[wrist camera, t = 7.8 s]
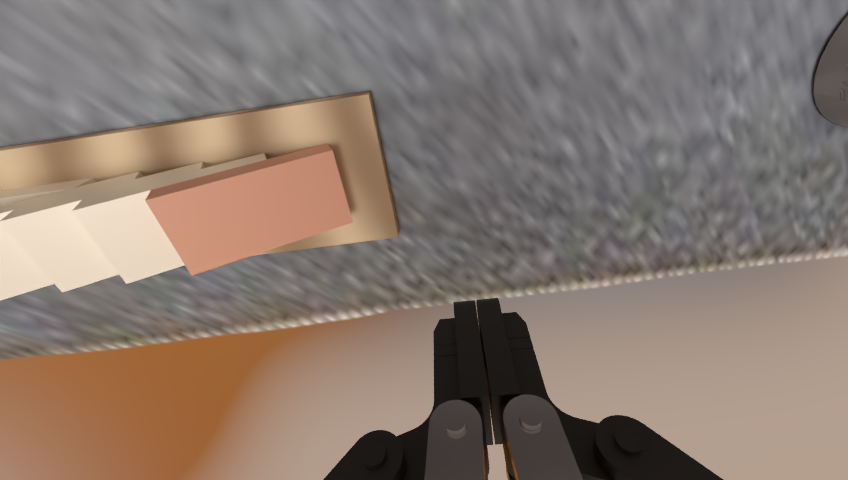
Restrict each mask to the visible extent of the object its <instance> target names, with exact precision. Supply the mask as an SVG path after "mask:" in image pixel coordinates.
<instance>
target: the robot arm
mask: <svg viewBox="0 0 848 480" xmlns="http://www.w3.org/2000/svg"><path fill="white" fill-rule="evenodd" d="M814 97H815V102H816V106H817V107H818V109H819V111H820V113H821V114H822V115H823V116H824V117H825V118H826V119H828V120H829V121H830V122H832V123H835V124H838V125H841V126H844V127H847V128H848V16H847V17H846V18H845V19H844V20H843V21H842V23H841V24H840V26H839V27H838V29H837V30H836V32H835V33H834V35H833V36H832V38H831V39H830V41H829V43H828V45H827V47H826V49H825V51H824V53H823V55H822V57H821V59H820V61H819V65H818V68H817V71H816V74H815V81H814ZM477 312H478V319H477ZM477 312H476V305H475V300H473V301H463V302H454V315H455V318H451V319H440V320H439V322H438V324H437V326H436V328H435V330H434V406H433V410H432V412H431V414H430V416H429V417H428V418H427V420H426V421H425V422H424V423H423V424H422V425H420V426H419V427H417V428H415V429H413V430H411V431H408V432H406V433H404V434H401V435H399V436H397V437H396V436H395V435H394V434H392V433H391V432H388V431H384V430H377V431H372V432H369V433H367V434H366V435H364V436H363V437H361V438H360V439H359V440H358V441H357V442H356V443H355V445H354V446H353V447H352V448H351V449H350V450H349V451H348V452H347V454H346V455H345V456H344V457H343V458H342V459H341V460H340V461H339V463H338V464H337V465H336V466H335V467H334V468H333V469H332V471H331V472H330V473H329V474H328V475H327V476H326V478H324V480H488V474H489V460H488V450H487V445H493V439H492V427H491V418H492V425H493V431H494V438H495V444H503V448H504V454H505V461H506V473H507V478H508V480H723V479H721V478H720V477H719V476H717V475H716V474H714V473H713V472H711V471H710V470H708V469H707V468H706V467H704V466H703V465H701V464H700V463H698V462H697V461H696V460H694V459H693V458H691V457H690V456H689V455H687V454H686V453H684V452H683V451H681V450H680V449H679V448H677V447H675V446H674V445H673V444H671V443H670V442H668V441H667V440H666V439H664V438H663V437H661V436H660V435H658V434H657V433H655V432H654V431H653V430H651V429H650V428H648V427H647V426H646V425H644V424H643V423H641V422H639V421H638V420H635V419H633V418H630V417H627V416H621V415H615V416H609V417H607V418H605V419H603V420H602V421H601V422H600V423H595V422H591V421H587V420H583V419H579V418H575V417H572V416H570V415H568V414H566V413H564V412H562V411H561V410H560V409H558V408H557V407H556V406H555V405H554V404H553V403H552V401H551V400H550V398H549V397H548V395H547V392H546V389H545V386H544V382H543V379H542V376H541V372H540V369H539V365H538V362H537V359H536V355H535V352H534V350H533V345H532V342H531V339H530V335H529V332H528V328H527V325H526V323H525V321H524V320H523V319H522V318H521V317H520V316H519V315H518V314H517V313H516V312H512V313H502V312H501V308H500V304H499V300H498V298H492V299H482V300H477ZM478 322H479V326H478ZM479 332H480V333H479ZM490 411H491V416H490Z"/></svg>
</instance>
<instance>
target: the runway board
mask: <svg viewBox="0 0 848 480" xmlns="http://www.w3.org/2000/svg"><path fill="white" fill-rule="evenodd" d="M324 144H328V145H329V146H330V147H331V149H332V150H333V153H334V157H335V160H336V164H337V167H338V171H339V174H340V178H341V181H342V185H343V188H344V192H345V196H346V199H347V203H348V206H349V210H350V213H351V217H352V220H353V223H350V224H347V225H344V226H341V227H338V228H334V229H331V230H328V231H325V232H322V233H319V234H316V235H313V236H310V237H307V238H304V239H301V240H298V241H295V242H292V243H289V244H286V245H283V246H280V247H277V248H274V249H271V250H268V251H265V252H262V253H258V254H255V255H261V254H269V253H277V252H285V251H293V250H301V249H309V248H316V247H324V246H332V245H340V244H348V243H356V242H364V241H372V240H380V239H388V238H396V237H399V226H398V221H397V216H396V212H395V207H394V202H393V197H392V192H391V188H390V183H389V178H388V173H387V168H386V164H385V159H384V154H383V149H382V144H381V140H380V135H379V130H378V125H377V120H376V116H375V111H374V106H373V101H372V96H371V92H370V91H366V92H360V93H353V94H347V95H340V96H334V97H327V98H321V99H314V100H308V101H301V102H295V103H288V104H282V105H275V106H269V107H262V108H256V109H249V110H243V111H236V112H230V113H223V114H217V115H210V116H204V117H197V118H191V119H184V120H178V121H171V122H165V123H158V124H152V125H145V126H139V127H132V128H126V129H119V130H113V131H106V132H100V133H93V134H87V135H80V136H74V137H67V138H61V139H54V140H48V141H41V142H35V143H28V144H22V145H15V146H9V147H2V148H0V191H4V190H11V189H18V188H25V187H32V186H39V185H46V184H53V183H59V182H66V181H73V180H80V179H87V178H94V180H95V181H96V182H99V181H103V180H107V179H111V178H115V177H119V176H123V175H127V174H131V173H135V172H139V171H140V172H141V174H142V176H143V177H145V176H149V175H152V174H156V173H160V172H164V171H168V170H172V169H176V168H180V167H184V166H188V165H192V164H196V163H199V162H203V164H204V166H205V168H207V167H211V166H215V165H219V164H223V163H227V162H230V161H234V160H238V159H242V158H246V157H250V156H254V155H258V154H261V153H265V155H266V158H267V159H271V158H274V157H278V156H282V155H286V154H290V153H293V152H297V151H301V150H305V149H309V148H312V147H316V146H320V145H324ZM252 256H253V255H252Z"/></svg>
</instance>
